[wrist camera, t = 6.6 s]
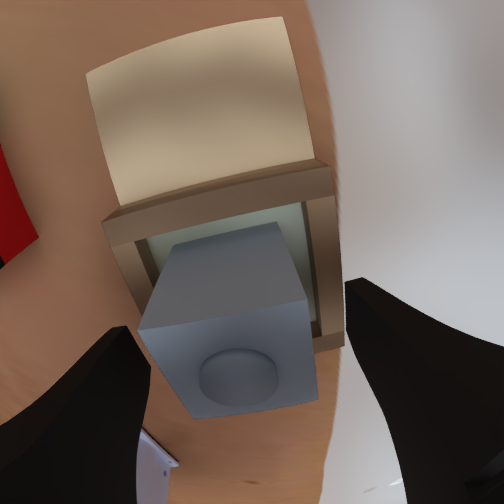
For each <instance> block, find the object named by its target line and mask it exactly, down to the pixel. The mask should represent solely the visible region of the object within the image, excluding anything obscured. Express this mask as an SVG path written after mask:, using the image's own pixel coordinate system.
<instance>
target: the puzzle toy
mask: <svg viewBox="0 0 504 504" xmlns="http://www.w3.org/2000/svg"><path fill="white" fill-rule="evenodd" d="M37 238H39V236H38V235H37V233H36V231H35V229H34V227H33V225H32V223H31V220H30V218H29V216H28V214H27V212H26V210H25V208H24V205H23V203H22V201H21V199H20V196H19V194H18V191H17V189H16V187H15V184H14V182H13V179H12V176H11V174H10V171H9V168H8V166H7V163H6V160H5V157H4V154H3V151H2V148H1V145H0V269H1V268H2V267H3V266H4V265H5V264H7V263H8V262H9V261H10V260H11V259H13V258H14V257H15V256H16V255H17V254H19V253H20V252H21V251H22V250H23V249H25V248H26V247H27V246H28V245H30V244H31V243H32V242H34V241H35V240H36V239H37Z"/></svg>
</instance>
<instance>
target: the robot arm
mask: <svg viewBox="0 0 504 504" xmlns="http://www.w3.org/2000/svg"><path fill="white" fill-rule="evenodd" d="M345 303H346V331H347V334H348V337H349V340H350V343H351V345H352V348H353V351H354V354H355V356H356V358H357V360H358V363H359V364H360V366H361V368H362V370H363V372H364V374H365V377H366V378H367V381H368V383H369V385H370V387H371V389H372V391H373V392H374V395H375V397H376V399H377V401H378V403H379V405H380V407H381V409H382V411H383V414H384V416H385V419H386V421H387V424H388V428H389V431H390V434H391V437H392V440H393V443H394V447H395V450H396V454H397V458H398V461H399V465H400V469H401V473H402V478H403V482H404V487H405V492H406V498H407V504H504V347H503V346H500V345H497V344H493V343H491V342H487V341H484V340H482V339H479V338H476V337H473V336H471V335H468V334H466V333H464V332H461V331H459V330H457V329H454V328H452V327H450V326H448V325H445V324H443V323H441V322H439V321H437V320H435V319H434V318H432V317H430V316H428V315H426V314H424V313H422V312H420V311H419V310H417V309H415V308H413V307H411V306H410V305H408V304H406V303H405V302H403V301H401V300H399V299H398V298H396V297H395V296H393V295H391V294H390V293H388V292H386V291H385V290H383V289H382V288H380V287H378V286H377V285H375V284H373V283H372V282H370V281H368V280H367V279H365V278H363V277H361V278H358V279H354V280H350V281H346V282H345ZM150 374H151V366H150V364H149V363H148V361H147V360H146V358H145V356H144V355H143V353H142V351H141V350H140V348H139V346H138V345H137V343H136V341H135V340H134V338H133V336H132V334H131V333H130V331H129V329H128V327H127V326H120V327H113V328H111V329H110V330H109V331H107V332H106V333H105V334H104V335H103V336H102V337H101V338H100V339H99V340H98V341H97V342H96V343H95V344H94V345H93V346H92V347H91V348H90V349H89V350H88V351H87V352H86V353H85V354H84V355H83V356H82V357H81V358H80V359H79V360H78V361H77V362H76V363H75V364H74V365H73V366H72V367H71V368H70V369H69V370H68V371H67V372H66V373H65V374H64V375H63V376H62V377H61V378H60V379H59V380H58V381H57V382H56V383H55V384H54V385H53V386H52V387H51V388H50V389H49V390H48V391H46V392H45V393H44V394H43V395H42V396H41V397H39V398H38V399H37V400H36V401H35V402H33V403H32V404H31V405H30V406H28V407H27V408H26V409H24V410H23V411H21V412H20V413H19V414H17V415H16V416H14V417H13V418H12V419H10V420H9V421H7V422H5V423H4V424H2V425H0V504H167V503H168V491H169V480H170V470H171V467H178V466H179V463H178V462H177V461H176V460H175V459H173V458H172V457H171V456H170V455H169V454H168V453H167V452H166V451H165V450H163V449H162V448H161V447H160V446H159V445H158V444H157V443H156V442H155V441H154V440H153V439H152V438H151V437H150V436H149V435H148V434H147V433H146V432H145V431H144V430H143V429H142V424H143V419H144V414H145V409H146V404H147V400H148V395H149V387H150Z"/></svg>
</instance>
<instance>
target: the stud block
mask: <svg viewBox="0 0 504 504" xmlns="http://www.w3.org/2000/svg"><path fill="white" fill-rule="evenodd" d="M137 332H138V333H139V335H140V337H141V339H142V341H143V342H144V344H145V346H146V347H147V349H148V351H149V353H150V354H151V356H152V357H153V359H154V361H155V362H156V364H157V366H158V367H159V369H160V370H161V372H162V374H163V375H164V377H165V378H166V380H167V381H168V383H169V384H170V386H171V387H172V389H173V390H174V392H175V393H176V395H177V396H178V398H179V399H180V401H181V402H182V403H183V405H184V406H185V408H186V409H187V410H188V412H189V413H190V415H191V416H192V417H193V419H201V418H213V417H222V416H231V415H239V414H246V413H253V412H260V411H266V410H271V409H277V408H282V407H287V406H292V405H297V404H302V403H306V402H310V401H315V400H318V390H317V379H316V369H315V359H314V350H313V341H312V333H311V324H310V316H309V308H308V301H307V297H306V294H305V292H304V289H303V286H302V284H301V281H300V279H299V276H298V273H297V271H296V268H295V266H294V263H293V261H292V258H291V255H290V253H289V250H288V248H287V245H286V243H285V240H284V238H283V235H282V233H281V230H280V228H279V226H278V223H277V221H275V222H271V223H266V224H261V225H257V226H252V227H248V228H243V229H239V230H235V231H230V232H226V233H221V234H217V235H213V236H208V237H204V238H200V239H196V240H191V241H187V242H183V243H179V244H175V245H173V247H172V249H171V252H170V254H169V256H168V258H167V260H166V263H165V265H164V267H163V269H162V272H161V274H160V276H159V278H158V281H157V283H156V285H155V288H154V290H153V292H152V295H151V297H150V300H149V302H148V304H147V307H146V309H145V312H144V314H143V317H142V319H141V322H140V324H139V327H138V329H137Z"/></svg>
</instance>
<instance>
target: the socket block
mask: <svg viewBox="0 0 504 504" xmlns="http://www.w3.org/2000/svg"><path fill="white" fill-rule="evenodd" d="M86 77H87V82H88V88H89V93H90V97H91V102H92V107H93V111H94V115H95V120H96V124H97V128H98V132H99V136H100V140H101V143H102V147H103V151H104V154H105V158H106V161H107V165H108V168H109V171H110V175H111V178H112V181H113V184H114V188H115V191H116V194H117V197H118V200H119V203H120V207H119V208H118V209H116V210H115V211H114V212H113V213H112V214H110V215H109V216H108V217H107V218H106V219H105V220H103V221H102V222H101V224H102V226H103V229H104V232H105V234H106V237H107V239H108V242H109V244H110V247H111V249H112V252H113V254H114V256H115V259H116V261H117V263H118V266H119V268H120V270H121V273H122V275H123V277H124V279H125V281H126V284H127V286H128V288H129V290H130V292H131V294H132V296H133V298H134V300H135V302H136V304H137V307H138V309H139V311H140V312H141V314H142V316H143V314H144V312H145V309H146V307H147V304H148V302H149V300H150V297H151V295H152V292H153V290H154V288H155V285H156V283H157V281H158V278H159V276H160V274H161V272H162V269H163V267H164V265H165V263H166V260H167V258H168V256H169V254H170V252H171V249H172V247H173V245H175V244H179V243H183V242H187V241H191V240H196V239H200V238H204V237H208V236H213V235H217V234H221V233H226V232H230V231H235V230H239V229H243V228H248V227H252V226H257V225H261V224H266V223H271V222H275V221H277V223H278V226H279V228H280V230H281V233H282V235H283V238H284V240H285V243H286V245H287V248H288V250H289V253H290V255H291V258H292V261H293V263H294V266H295V268H296V271H297V273H298V276H299V279H300V281H301V284H302V286H303V289H304V292H305V294H306V297H307V301H308V308H309V316H310V324H311V333H312V341H313V350H314V354H315V353H319V352H323V351H327V350H331V349H335V348H339V347H342V346H344V302H343V282H342V266H341V252H340V241H339V230H338V220H337V211H336V202H335V194H334V186H333V179H332V172H331V166H329V165H327V164H325V163H323V162H321V161H319V160H317V159H315V158H314V152H313V147H312V141H311V136H310V130H309V125H308V120H307V115H306V110H305V105H304V101H303V96H302V92H301V87H300V83H299V78H298V74H297V70H296V66H295V62H294V58H293V54H292V50H291V46H290V42H289V39H288V35H287V31H286V28H285V24H284V21H283V17H282V16H281V17H272V18H263V19H256V20H250V21H243V22H238V23H232V24H227V25H222V26H218V27H213V28H209V29H205V30H201V31H197V32H193V33H189V34H186V35H182V36H179V37H175V38H172V39H169V40H166V41H163V42H160V43H157V44H154V45H151V46H148V47H146V48H143V49H140V50H138V51H135V52H133V53H130V54H128V55H125V56H123V57H120V58H118V59H116V60H113V61H111V62H109V63H107V64H105V65H103V66H100V67H98V68H96V69H94V70H92V71H90V72H88V73H86Z"/></svg>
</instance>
